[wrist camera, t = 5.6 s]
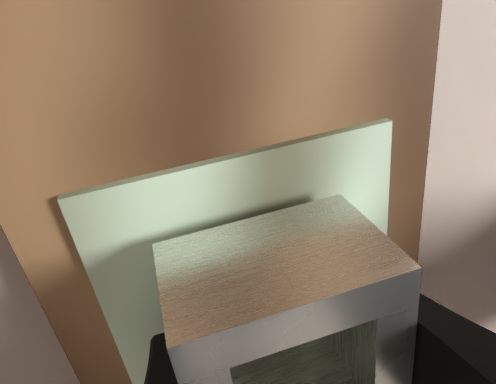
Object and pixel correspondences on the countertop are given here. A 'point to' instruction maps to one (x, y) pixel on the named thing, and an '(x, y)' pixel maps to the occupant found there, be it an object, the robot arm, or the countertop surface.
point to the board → (196, 140)
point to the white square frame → (290, 300)
